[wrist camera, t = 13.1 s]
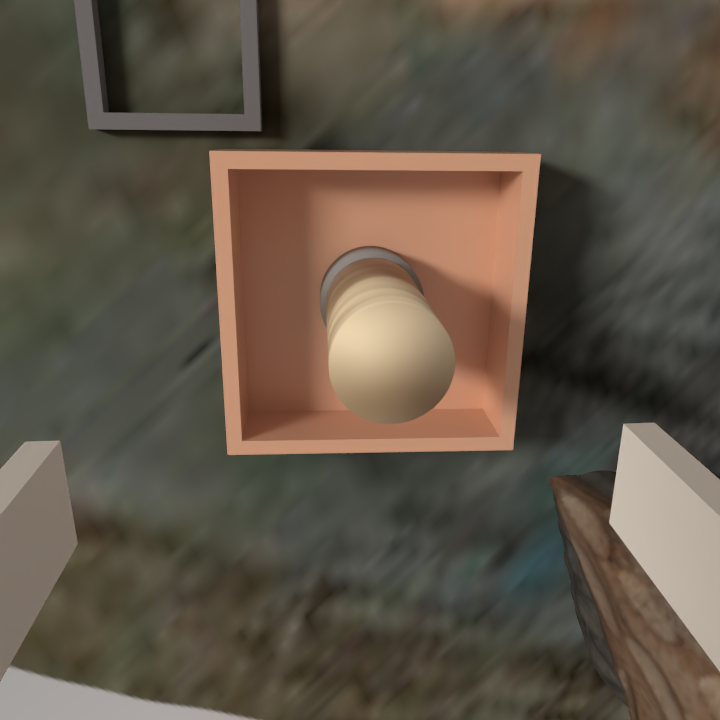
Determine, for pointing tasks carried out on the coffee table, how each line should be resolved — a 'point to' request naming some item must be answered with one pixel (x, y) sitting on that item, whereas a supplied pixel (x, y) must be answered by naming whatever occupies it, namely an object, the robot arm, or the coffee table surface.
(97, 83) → the gray square frame
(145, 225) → the coffee table surface
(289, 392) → the tray
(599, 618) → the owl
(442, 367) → the beige rounded cylinder
